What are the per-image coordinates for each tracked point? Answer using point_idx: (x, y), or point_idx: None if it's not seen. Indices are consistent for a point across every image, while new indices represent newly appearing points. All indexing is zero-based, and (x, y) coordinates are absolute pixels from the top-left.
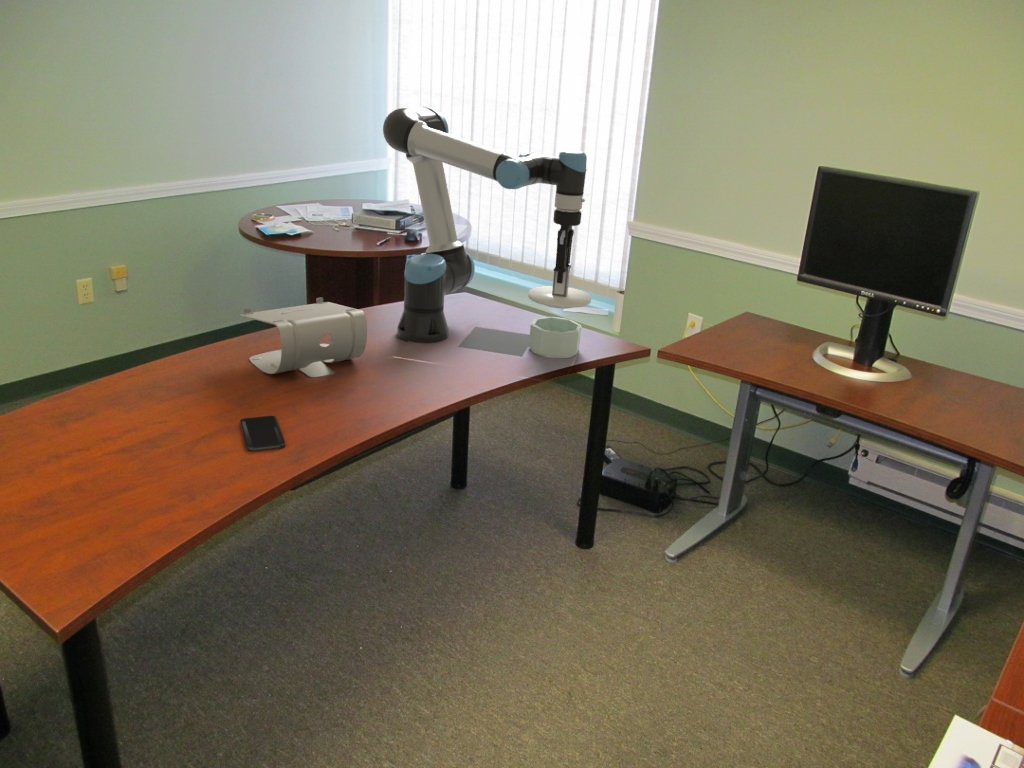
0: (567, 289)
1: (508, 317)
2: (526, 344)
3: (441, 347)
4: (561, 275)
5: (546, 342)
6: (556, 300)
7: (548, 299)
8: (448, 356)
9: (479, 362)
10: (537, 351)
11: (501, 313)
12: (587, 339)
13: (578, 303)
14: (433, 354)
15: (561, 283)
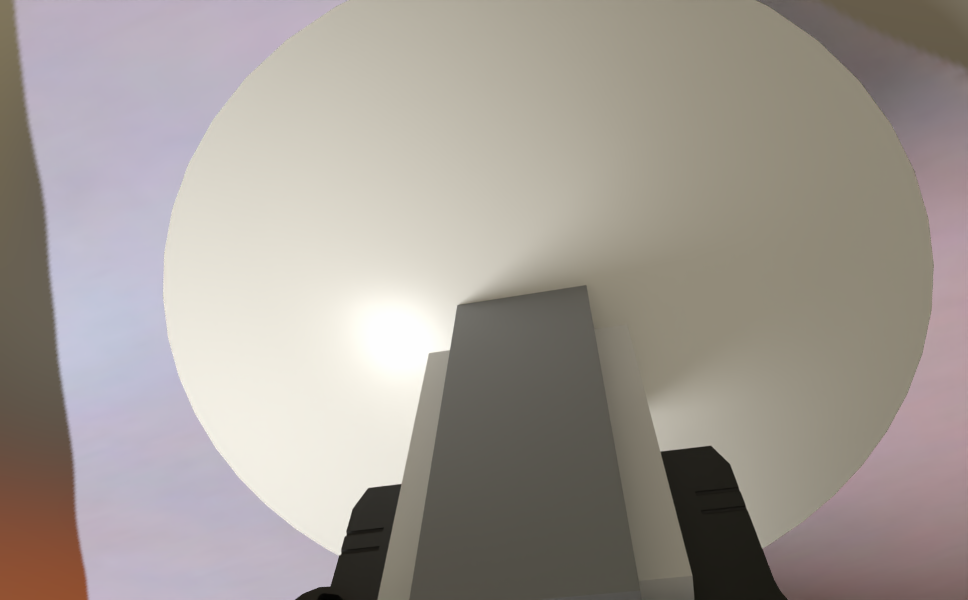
0: (503, 338)
1: (208, 513)
2: None
3: (779, 577)
4: (764, 563)
5: None
6: (794, 325)
7: (793, 402)
8: (881, 525)
9: (909, 405)
10: None
11: (184, 550)
12: (172, 41)
13: (797, 45)
14: (880, 572)
15: (714, 449)
